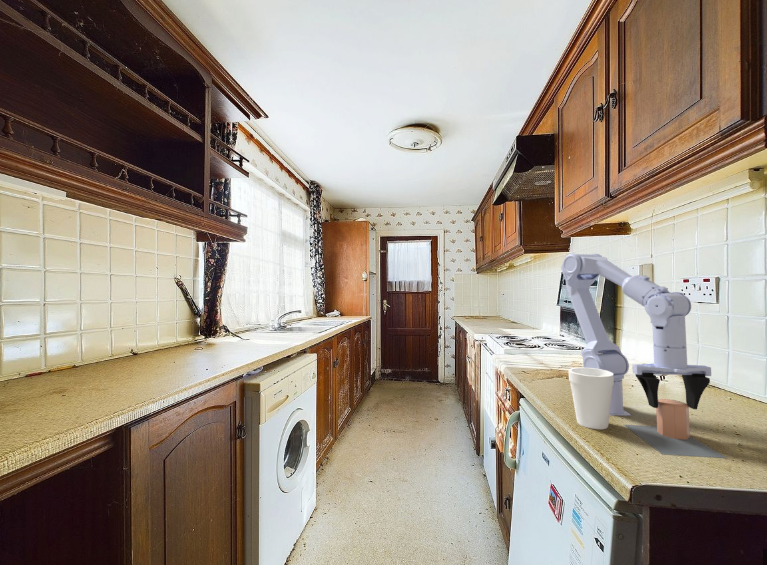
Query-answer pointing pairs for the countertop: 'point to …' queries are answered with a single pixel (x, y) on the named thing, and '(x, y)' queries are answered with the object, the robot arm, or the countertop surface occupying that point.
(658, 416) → the salmon pink faceted cylinder
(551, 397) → the countertop surface
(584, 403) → the foam cup
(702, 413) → the countertop surface
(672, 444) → the mat
